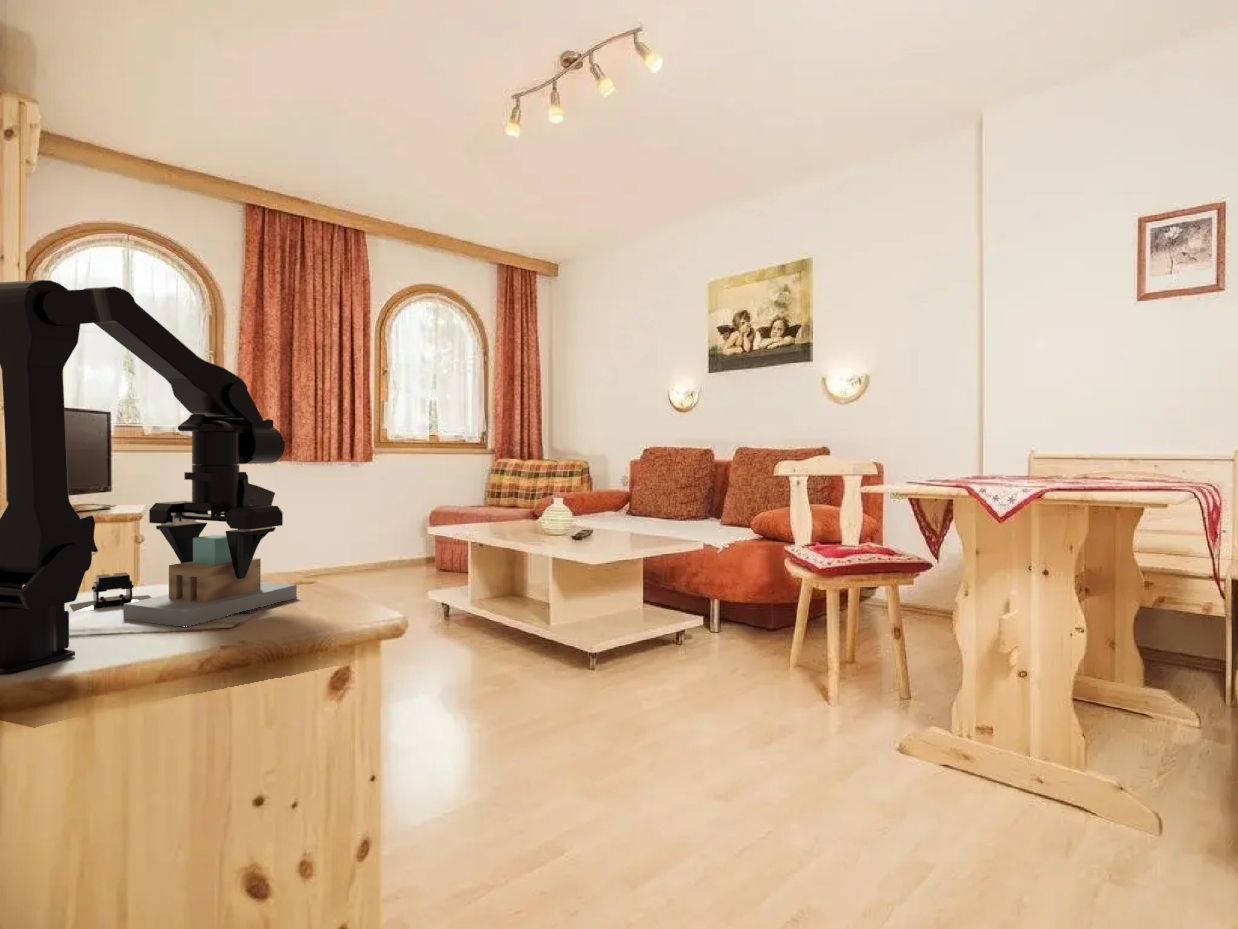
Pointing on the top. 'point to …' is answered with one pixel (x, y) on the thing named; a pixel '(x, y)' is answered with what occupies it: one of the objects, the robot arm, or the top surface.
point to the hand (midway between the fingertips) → (215, 576)
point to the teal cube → (211, 550)
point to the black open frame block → (109, 583)
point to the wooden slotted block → (211, 581)
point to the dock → (205, 606)
